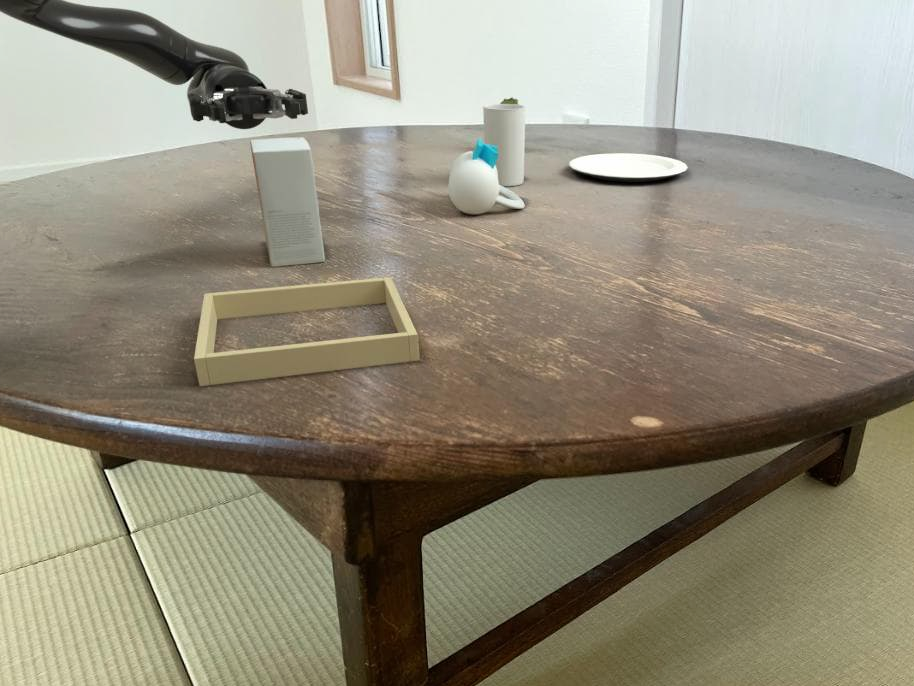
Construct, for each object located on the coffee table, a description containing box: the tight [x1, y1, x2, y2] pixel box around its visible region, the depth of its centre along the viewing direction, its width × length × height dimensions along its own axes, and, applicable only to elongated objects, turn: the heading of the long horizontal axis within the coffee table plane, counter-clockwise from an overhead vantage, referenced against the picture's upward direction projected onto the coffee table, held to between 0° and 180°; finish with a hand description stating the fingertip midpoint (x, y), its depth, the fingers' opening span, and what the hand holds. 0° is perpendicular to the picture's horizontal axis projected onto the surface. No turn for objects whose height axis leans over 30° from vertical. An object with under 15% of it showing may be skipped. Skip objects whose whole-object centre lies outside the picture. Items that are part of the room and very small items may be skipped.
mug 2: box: [447, 138, 526, 216], centre depth 116 cm, size 12×9×12 cm
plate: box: [568, 152, 688, 183], centre depth 140 cm, size 21×21×2 cm
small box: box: [249, 137, 326, 268], centre depth 93 cm, size 8×6×13 cm
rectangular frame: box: [193, 276, 420, 387], centre depth 72 cm, size 18×16×3 cm
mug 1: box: [482, 103, 526, 187], centre depth 131 cm, size 10×7×12 cm, turn 24°
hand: (258, 112), depth 98 cm, fingers open, 8 cm apart
